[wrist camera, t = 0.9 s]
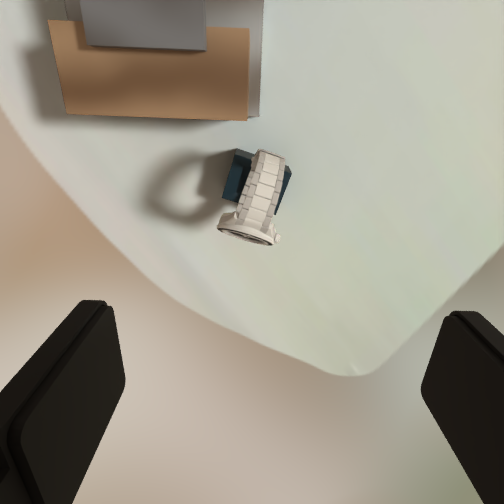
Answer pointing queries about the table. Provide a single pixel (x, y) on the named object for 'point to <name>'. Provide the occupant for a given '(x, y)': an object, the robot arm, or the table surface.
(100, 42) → the watch stand
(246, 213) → the watch
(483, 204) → the table surface
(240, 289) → the table surface
